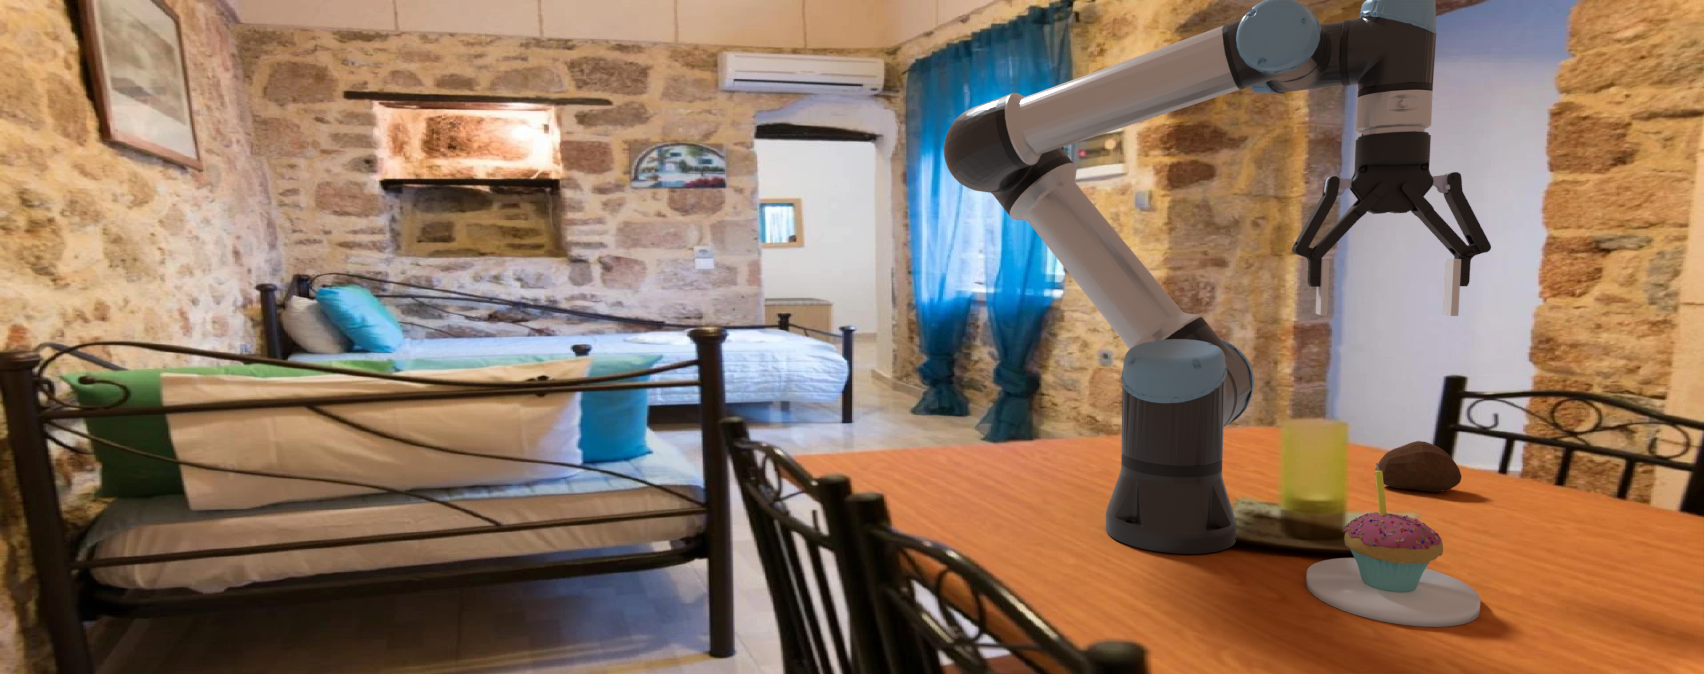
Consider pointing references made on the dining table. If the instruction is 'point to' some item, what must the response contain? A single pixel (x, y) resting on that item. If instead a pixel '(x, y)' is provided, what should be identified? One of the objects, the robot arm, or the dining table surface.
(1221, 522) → the robot arm
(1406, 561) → the cupcake
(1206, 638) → the dining table surface
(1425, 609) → the plate
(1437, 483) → the potato
